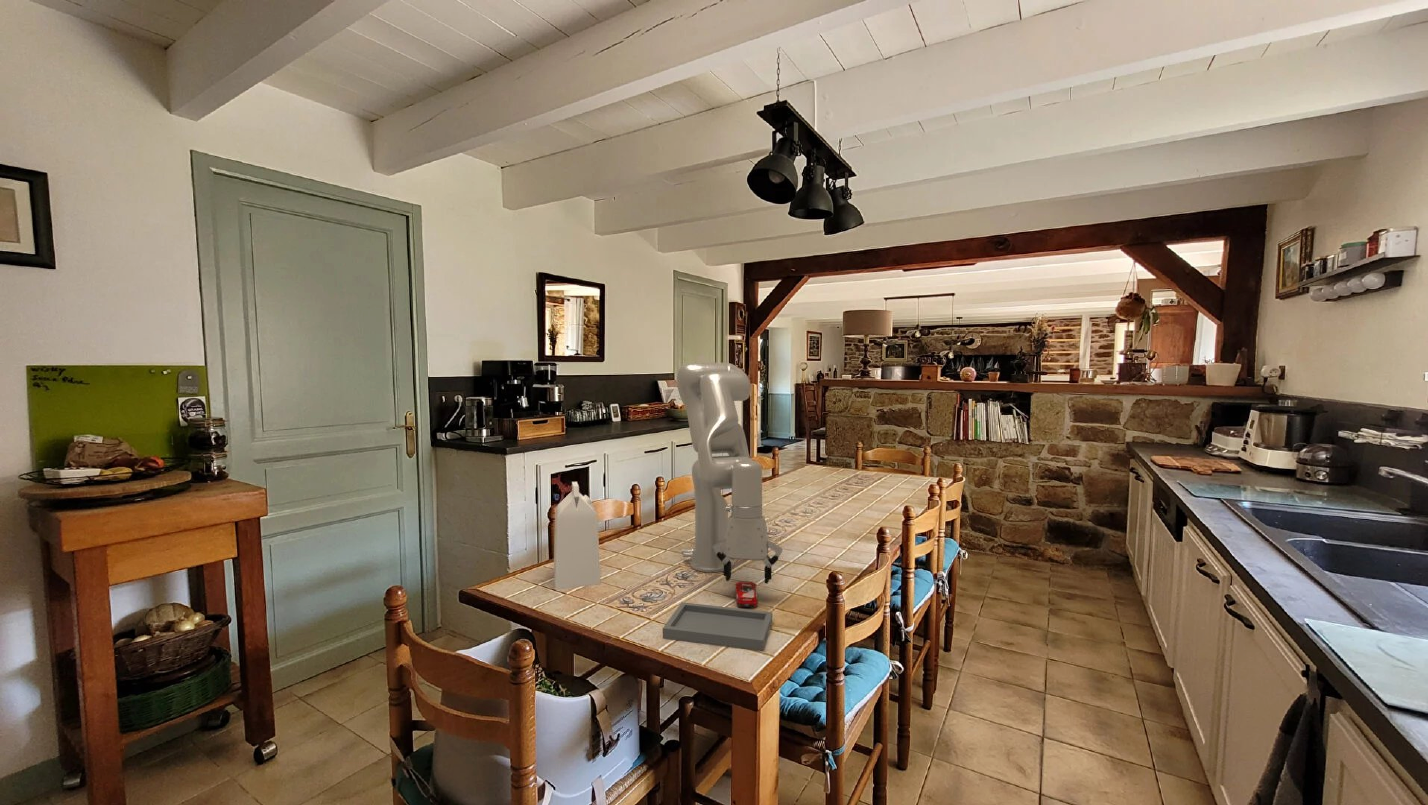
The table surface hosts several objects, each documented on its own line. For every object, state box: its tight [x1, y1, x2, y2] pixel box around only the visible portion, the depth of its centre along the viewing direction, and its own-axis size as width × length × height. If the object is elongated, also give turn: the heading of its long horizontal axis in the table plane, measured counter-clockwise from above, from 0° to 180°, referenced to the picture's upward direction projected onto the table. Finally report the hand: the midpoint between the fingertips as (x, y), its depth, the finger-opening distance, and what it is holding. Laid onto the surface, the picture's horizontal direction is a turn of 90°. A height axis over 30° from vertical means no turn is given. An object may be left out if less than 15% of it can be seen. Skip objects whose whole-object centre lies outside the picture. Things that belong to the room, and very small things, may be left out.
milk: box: [553, 481, 601, 591], centre depth 149 cm, size 12×12×26 cm
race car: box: [734, 580, 758, 608], centre depth 138 cm, size 13×5×4 cm, turn 178°
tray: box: [662, 601, 773, 652], centre depth 121 cm, size 21×13×2 cm, turn 76°
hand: (747, 580), depth 137 cm, fingers open, 9 cm apart
